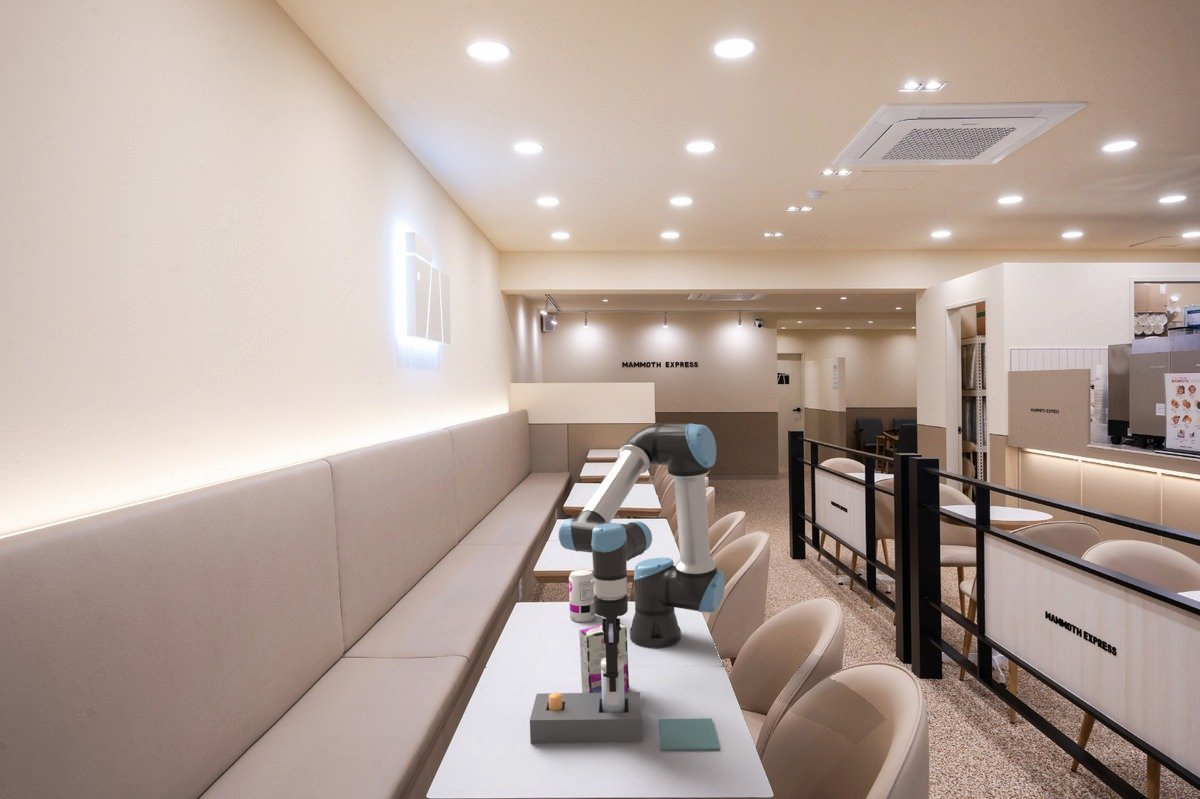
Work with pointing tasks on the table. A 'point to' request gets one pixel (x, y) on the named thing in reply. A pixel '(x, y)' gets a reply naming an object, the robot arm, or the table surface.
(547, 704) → the housing
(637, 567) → the robot arm
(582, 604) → the supplement can
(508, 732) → the table surface
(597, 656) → the candy bar box
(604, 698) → the cylinder
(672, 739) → the mat
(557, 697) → the plunger
